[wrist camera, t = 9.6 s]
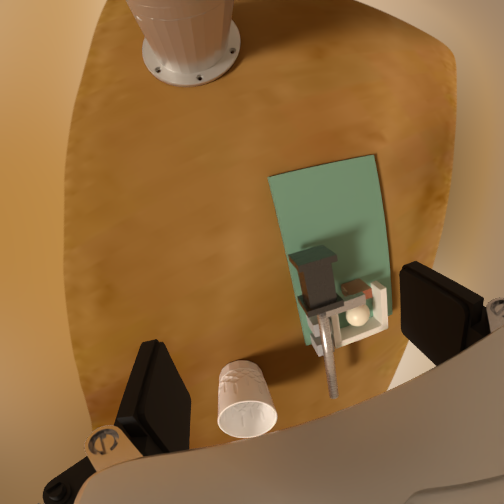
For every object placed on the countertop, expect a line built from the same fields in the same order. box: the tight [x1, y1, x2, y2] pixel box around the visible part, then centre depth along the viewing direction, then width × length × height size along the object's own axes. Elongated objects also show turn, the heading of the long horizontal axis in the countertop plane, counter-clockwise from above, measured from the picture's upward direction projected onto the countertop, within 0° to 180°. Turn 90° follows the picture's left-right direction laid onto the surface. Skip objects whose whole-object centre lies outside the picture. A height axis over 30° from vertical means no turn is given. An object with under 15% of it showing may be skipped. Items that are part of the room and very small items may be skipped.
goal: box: [328, 281, 388, 348], centre depth 41 cm, size 7×9×3 cm
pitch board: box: [268, 155, 392, 357], centre depth 38 cm, size 25×15×4 cm, turn 14°
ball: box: [346, 304, 370, 326], centre depth 40 cm, size 4×4×4 cm
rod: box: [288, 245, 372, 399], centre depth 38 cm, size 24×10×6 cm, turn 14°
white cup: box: [218, 360, 277, 438], centre depth 39 cm, size 8×8×10 cm
